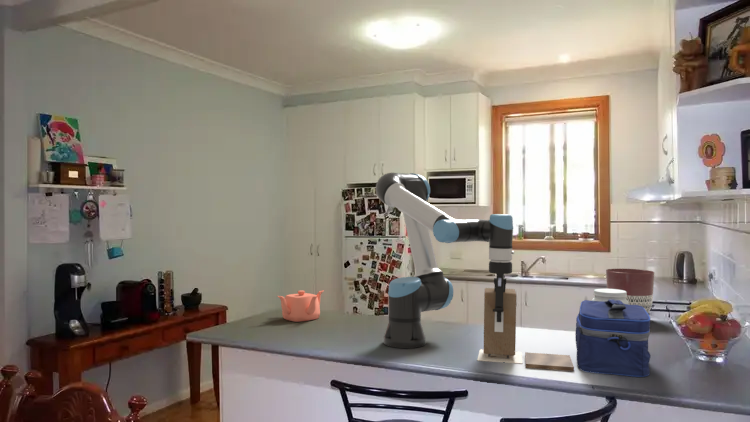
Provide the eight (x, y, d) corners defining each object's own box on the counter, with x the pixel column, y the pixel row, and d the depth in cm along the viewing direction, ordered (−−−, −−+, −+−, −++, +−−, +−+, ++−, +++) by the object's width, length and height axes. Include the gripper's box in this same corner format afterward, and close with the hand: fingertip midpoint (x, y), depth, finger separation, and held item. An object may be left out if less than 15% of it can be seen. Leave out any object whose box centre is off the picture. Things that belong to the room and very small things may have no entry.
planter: (658, 324, 232) (658, 274, 232) (608, 322, 238) (608, 272, 238) (649, 316, 251) (649, 269, 251) (603, 313, 257) (603, 267, 256)
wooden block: (515, 356, 176) (516, 293, 176) (483, 353, 178) (484, 292, 178) (513, 347, 186) (514, 288, 186) (483, 346, 188) (484, 287, 188)
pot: (316, 323, 233) (317, 294, 233) (276, 322, 234) (276, 293, 234) (324, 315, 251) (324, 288, 251) (286, 314, 252) (286, 287, 252)
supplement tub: (594, 334, 215) (594, 287, 215) (630, 338, 208) (630, 289, 208) (588, 341, 203) (589, 291, 203) (626, 345, 197) (627, 294, 197)
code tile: (477, 360, 177) (477, 359, 177) (480, 349, 190) (480, 349, 190) (522, 363, 173) (522, 363, 173) (521, 352, 187) (521, 352, 187)
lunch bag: (656, 383, 155) (657, 310, 155) (577, 375, 162) (577, 305, 162) (641, 355, 184) (641, 294, 184) (574, 349, 191) (574, 291, 191)
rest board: (525, 367, 169) (525, 363, 169) (525, 355, 183) (525, 352, 183) (574, 371, 166) (574, 367, 166) (569, 358, 179) (569, 355, 179)
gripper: (511, 265, 170) (510, 336, 170) (512, 258, 192) (511, 321, 192) (487, 264, 172) (485, 335, 172) (490, 257, 194) (489, 320, 194)
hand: (499, 328), depth 182 cm, fingers closed on wooden block, 10 cm apart
